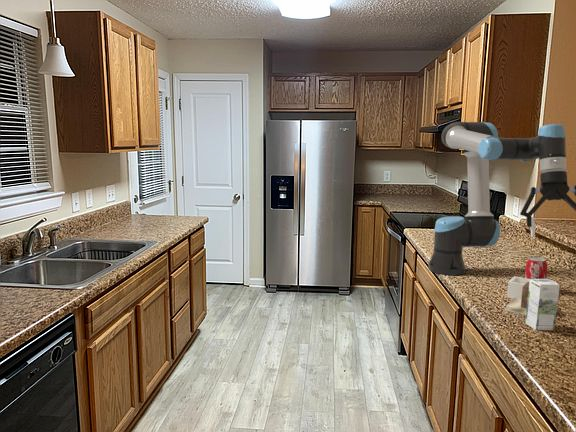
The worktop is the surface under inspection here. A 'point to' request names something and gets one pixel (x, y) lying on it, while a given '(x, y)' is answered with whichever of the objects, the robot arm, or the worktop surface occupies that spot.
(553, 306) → the syrup box
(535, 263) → the soda can
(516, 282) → the dish
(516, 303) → the lid
